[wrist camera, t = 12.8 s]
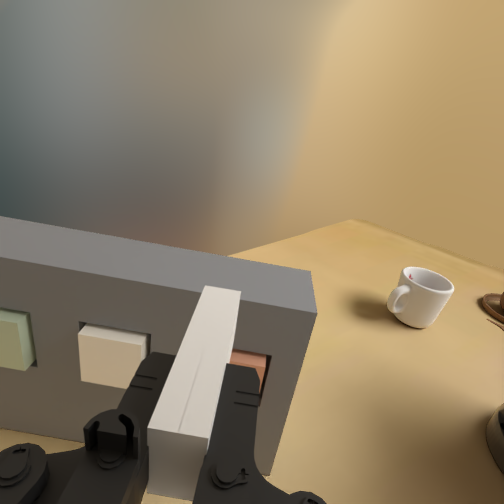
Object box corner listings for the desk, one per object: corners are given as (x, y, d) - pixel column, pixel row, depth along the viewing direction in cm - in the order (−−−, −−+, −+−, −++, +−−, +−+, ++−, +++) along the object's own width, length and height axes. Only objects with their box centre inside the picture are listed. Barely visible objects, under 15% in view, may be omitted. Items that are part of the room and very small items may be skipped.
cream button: (162, 344, 32) (164, 302, 30) (140, 391, 27) (141, 345, 25) (112, 335, 32) (111, 292, 30) (81, 380, 27) (77, 333, 25)
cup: (399, 340, 53) (418, 296, 49) (364, 310, 59) (379, 269, 56) (445, 329, 58) (465, 289, 54) (408, 302, 64) (424, 264, 60)
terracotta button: (259, 361, 32) (268, 320, 30) (255, 411, 27) (265, 367, 25) (209, 352, 32) (215, 311, 30) (196, 401, 27) (201, 355, 25)
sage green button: (64, 326, 32) (61, 284, 30) (25, 370, 27) (17, 323, 25) (15, 318, 32) (8, 274, 30) (-34, 360, 27) (-47, 311, 25)
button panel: (271, 418, 37) (310, 271, 29) (269, 475, 31) (317, 313, 24) (10, 372, 37) (-21, 212, 29) (-37, 421, 31) (-90, 241, 24)
